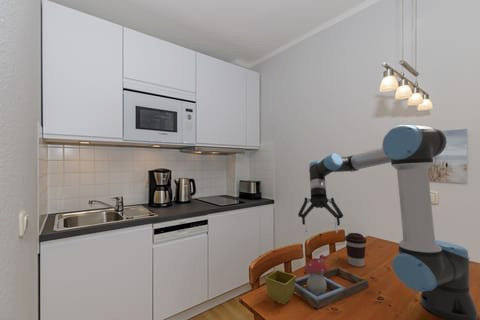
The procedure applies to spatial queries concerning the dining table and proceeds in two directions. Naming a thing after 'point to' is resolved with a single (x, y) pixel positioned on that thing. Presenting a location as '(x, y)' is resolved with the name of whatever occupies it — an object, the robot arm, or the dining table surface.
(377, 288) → the dining table surface
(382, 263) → the dining table surface
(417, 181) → the robot arm
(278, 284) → the flower pot
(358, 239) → the coffee cup
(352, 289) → the gray organizer
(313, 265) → the decorative ornament
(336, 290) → the slate-blue rim
